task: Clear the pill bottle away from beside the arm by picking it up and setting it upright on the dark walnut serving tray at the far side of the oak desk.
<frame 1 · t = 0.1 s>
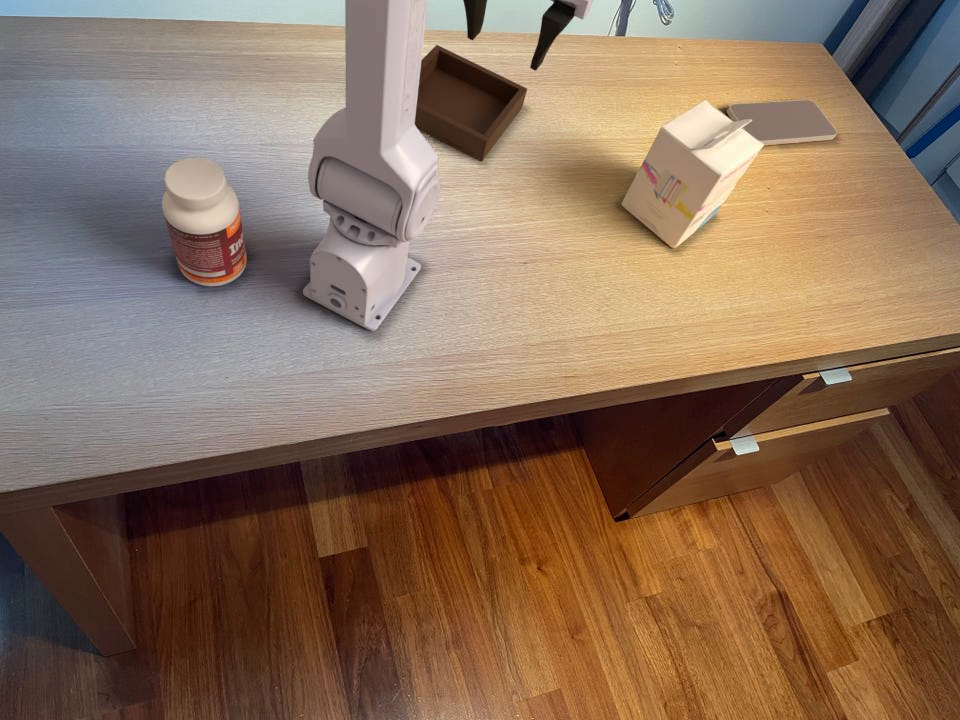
hand: (505, 49, 74), 10 cm above the table, tool pointing down, fingers open, 7 cm apart
pill bottle: (214, 263, 65), on the table
tray: (456, 111, 83), on the table
smartphone: (779, 126, 94), on the table
ink box: (666, 213, 81), on the table
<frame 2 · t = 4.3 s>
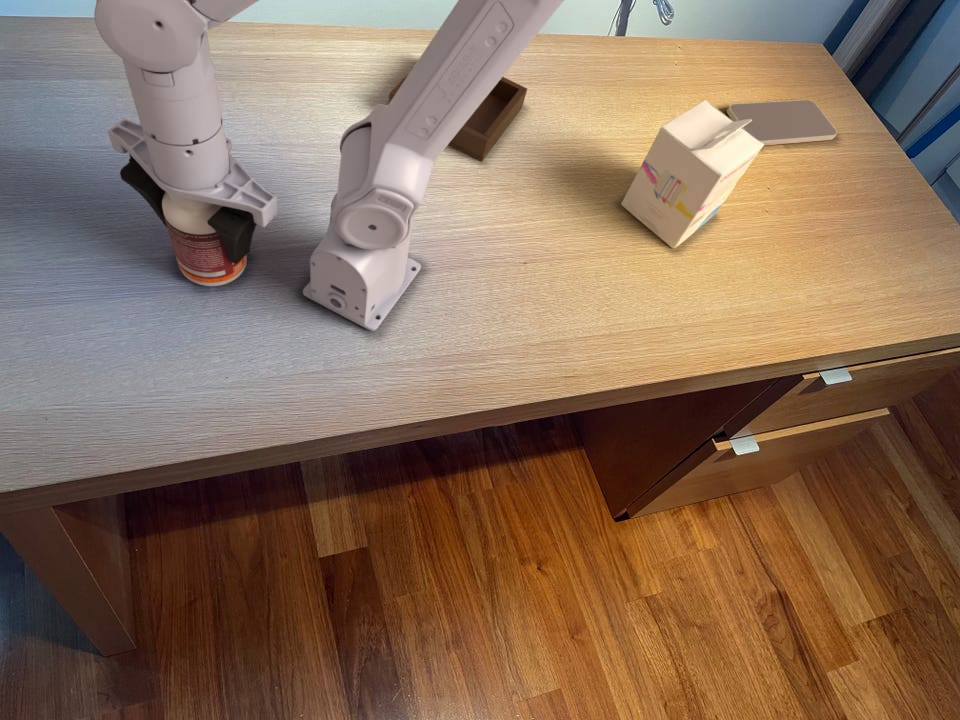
hand: (208, 239, 62), 3 cm above the table, tool pointing down, fingers closed on pill bottle, 6 cm apart
pill bottle: (214, 263, 65), on the table, touching gripper
everything else where it was.
when the fingers open (4 cm above the table, at t = 10.5 s): pill bottle stays where it is, resting on tray.
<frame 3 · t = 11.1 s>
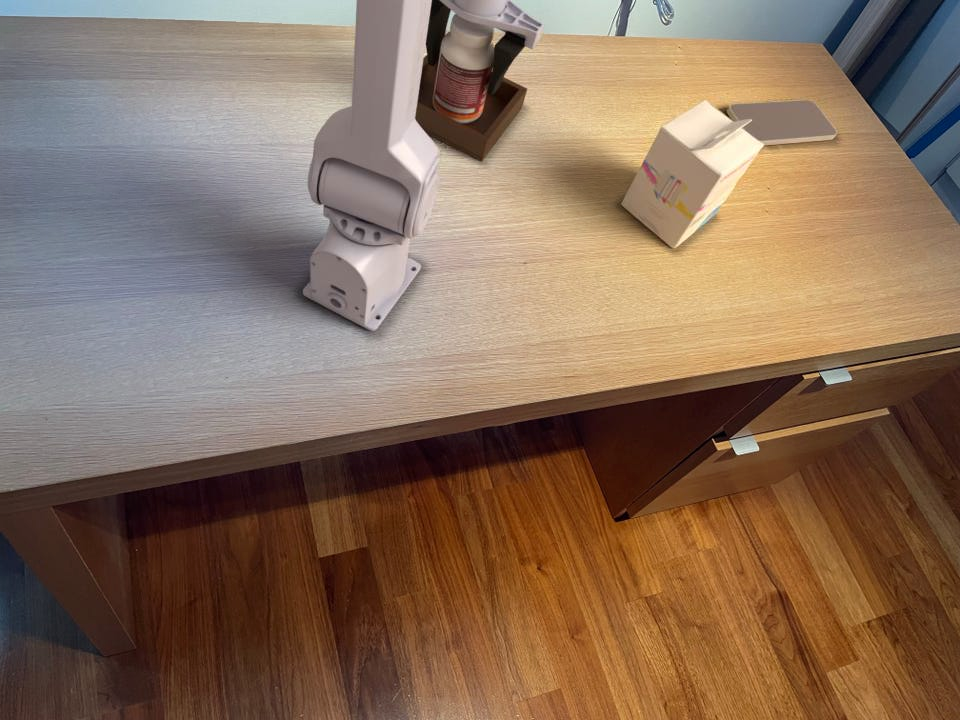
hand: (463, 75, 78), 5 cm above the table, tool pointing down, fingers open, 7 cm apart
pill bottle: (456, 109, 82), resting on tray
everything else where it was.
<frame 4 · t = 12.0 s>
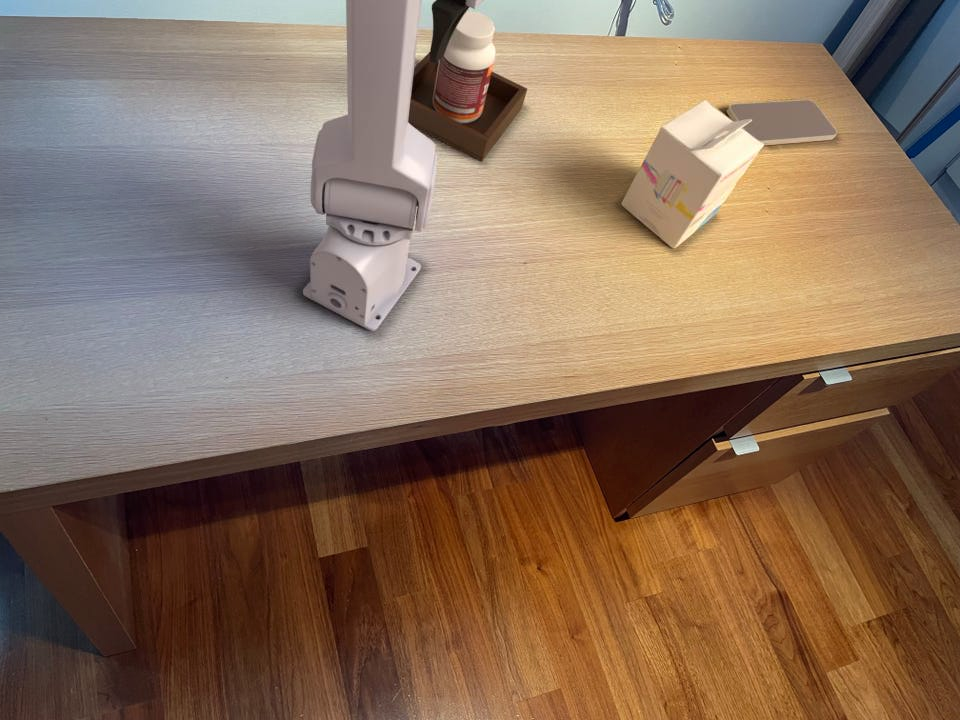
hand: (405, 41, 71), 10 cm above the table, tool pointing down, fingers open, 7 cm apart
nothing on the table moved.
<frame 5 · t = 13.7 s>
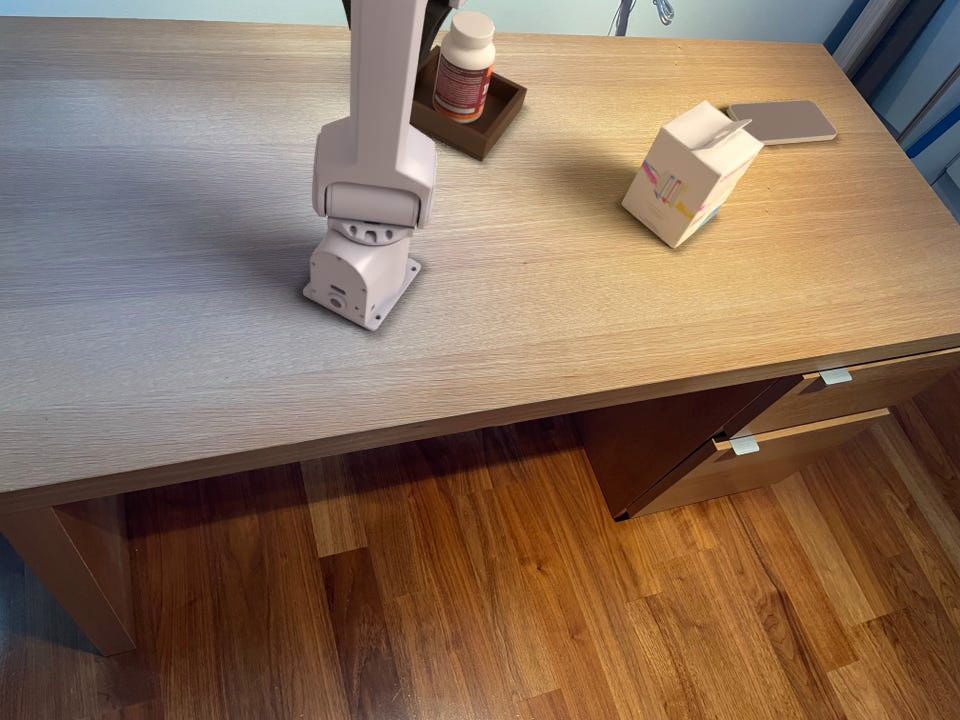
hand: (388, 42, 70), 10 cm above the table, tool pointing down, fingers open, 7 cm apart
nothing on the table moved.
at the end: pill bottle inside the target area in the tray (0.0 cm from its centre), point 0.3 cm above the tray's base; pill bottle tilted 0° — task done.
